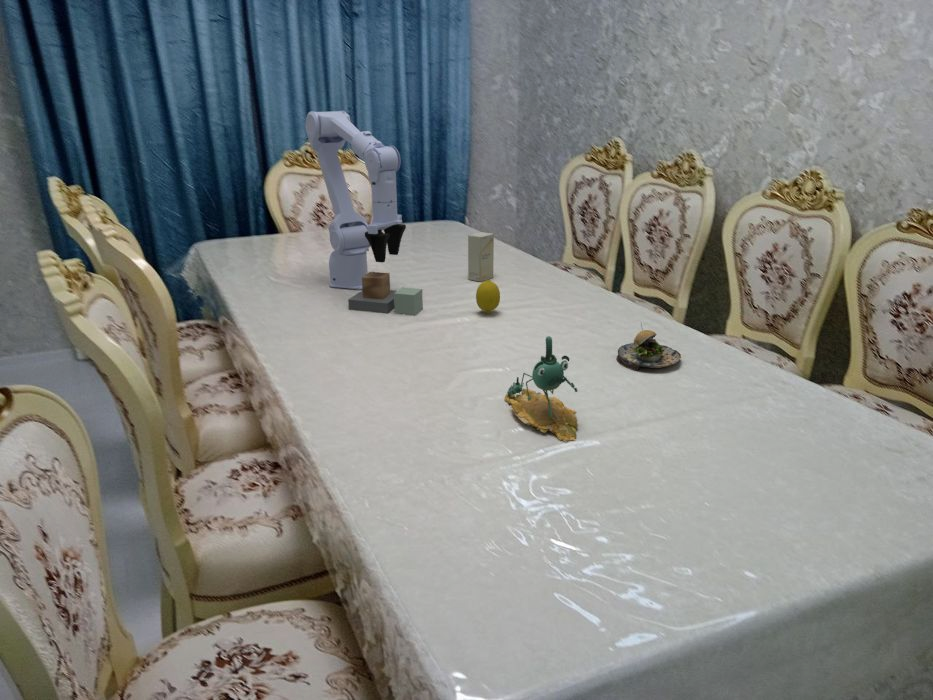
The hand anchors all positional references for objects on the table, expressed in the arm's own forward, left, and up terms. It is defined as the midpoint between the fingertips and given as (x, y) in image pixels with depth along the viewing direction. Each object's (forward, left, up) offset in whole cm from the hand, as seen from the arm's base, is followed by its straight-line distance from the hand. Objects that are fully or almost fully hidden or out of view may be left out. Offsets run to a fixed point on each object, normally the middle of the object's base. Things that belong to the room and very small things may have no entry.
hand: (387, 258), depth 159 cm
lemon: (+26, -3, -11) cm, 28 cm away
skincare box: (+16, +25, -11) cm, 31 cm away
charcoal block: (-1, -5, -11) cm, 12 cm away
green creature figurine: (+49, -50, -11) cm, 70 cm away
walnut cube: (-1, -5, -8) cm, 10 cm away
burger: (+63, -21, -11) cm, 68 cm away
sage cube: (+8, -7, -11) cm, 15 cm away
